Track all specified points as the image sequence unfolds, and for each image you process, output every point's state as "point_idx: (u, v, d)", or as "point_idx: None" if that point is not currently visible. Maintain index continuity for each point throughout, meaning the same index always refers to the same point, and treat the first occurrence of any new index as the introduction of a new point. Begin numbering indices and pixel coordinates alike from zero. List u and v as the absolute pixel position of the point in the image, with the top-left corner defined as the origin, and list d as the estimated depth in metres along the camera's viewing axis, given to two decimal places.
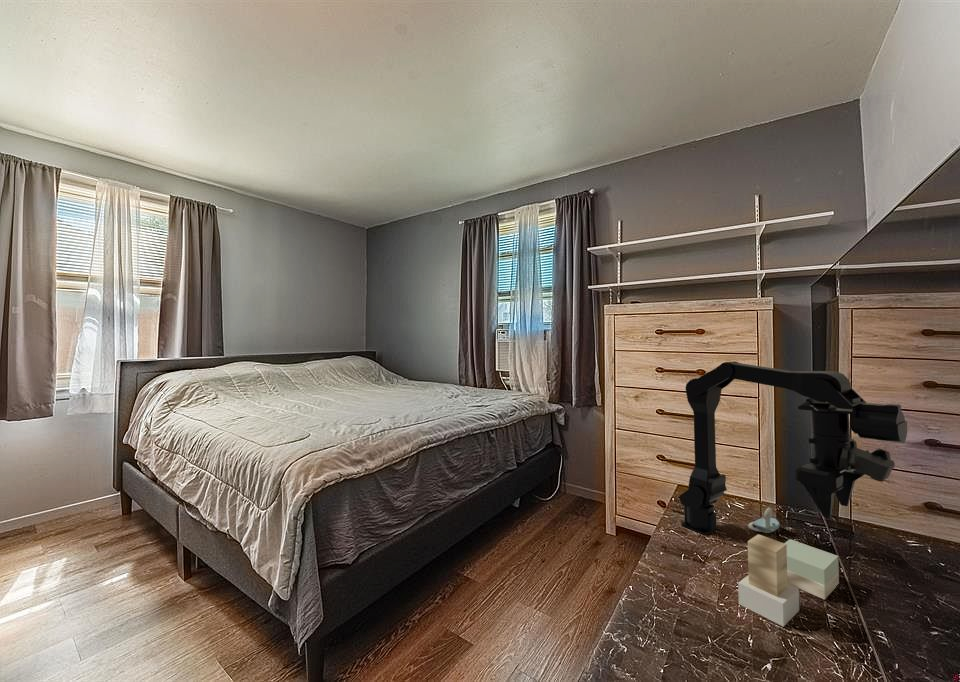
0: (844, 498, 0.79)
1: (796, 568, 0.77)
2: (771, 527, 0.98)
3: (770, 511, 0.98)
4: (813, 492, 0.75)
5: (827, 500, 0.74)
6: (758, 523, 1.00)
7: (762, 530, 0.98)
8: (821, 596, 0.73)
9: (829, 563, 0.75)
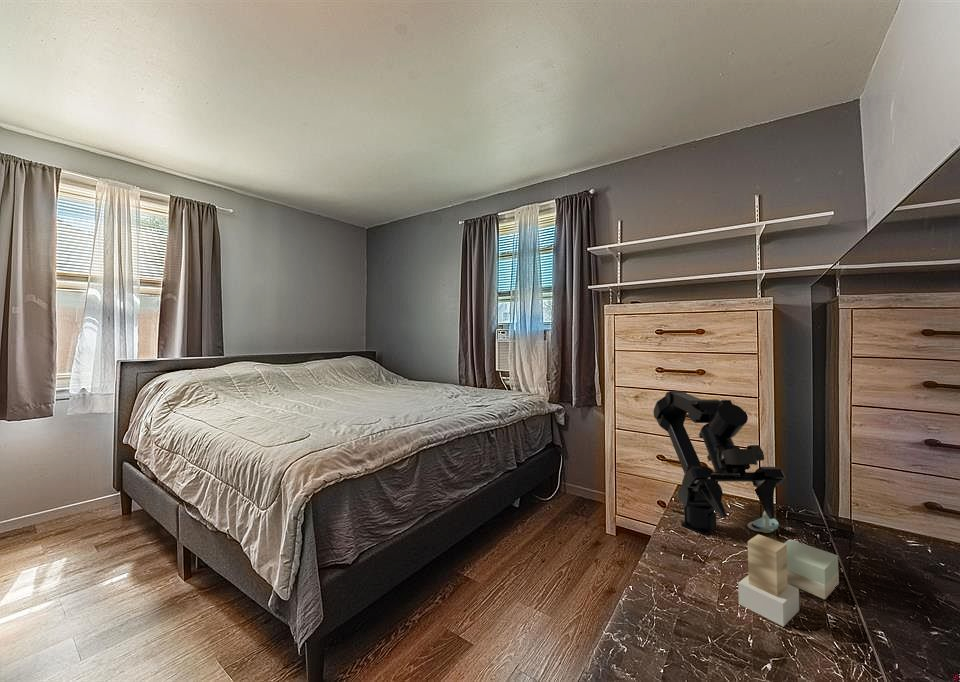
0: (768, 510, 0.79)
1: (797, 568, 0.76)
2: (770, 527, 0.99)
3: None
4: (706, 496, 0.84)
5: (713, 497, 0.82)
6: (757, 523, 1.01)
7: (761, 530, 0.98)
8: (821, 596, 0.73)
9: (829, 563, 0.75)
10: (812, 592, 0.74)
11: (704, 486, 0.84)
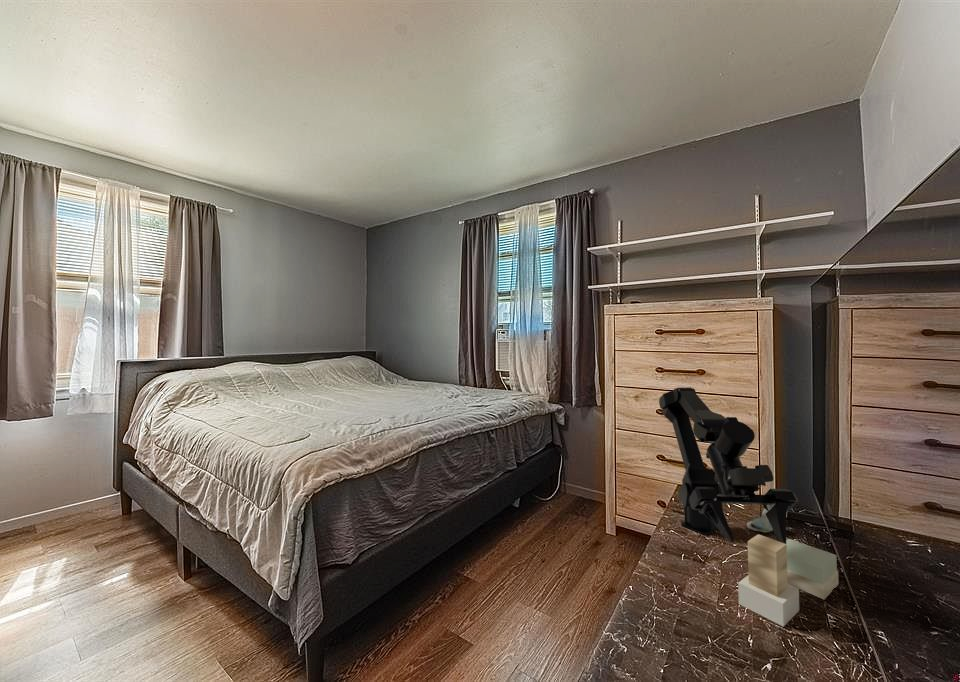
0: (779, 535, 0.74)
1: (795, 567, 0.77)
2: (769, 526, 0.99)
3: None
4: (713, 519, 0.79)
5: (719, 520, 0.77)
6: (756, 522, 1.01)
7: (760, 529, 0.98)
8: (820, 595, 0.73)
9: (827, 562, 0.75)
10: (811, 592, 0.74)
11: (710, 508, 0.79)
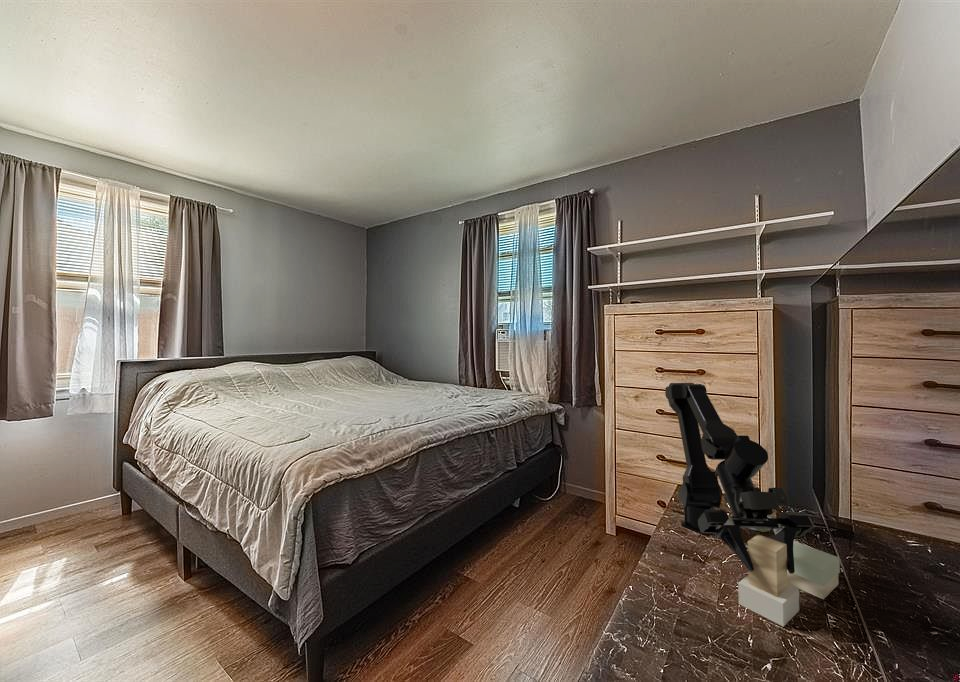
0: (787, 563, 0.70)
1: (795, 568, 0.77)
2: None
3: None
4: (730, 544, 0.75)
5: (737, 547, 0.73)
6: None
7: (758, 529, 0.98)
8: (820, 596, 0.73)
9: (828, 564, 0.75)
10: (811, 592, 0.74)
11: (727, 533, 0.75)
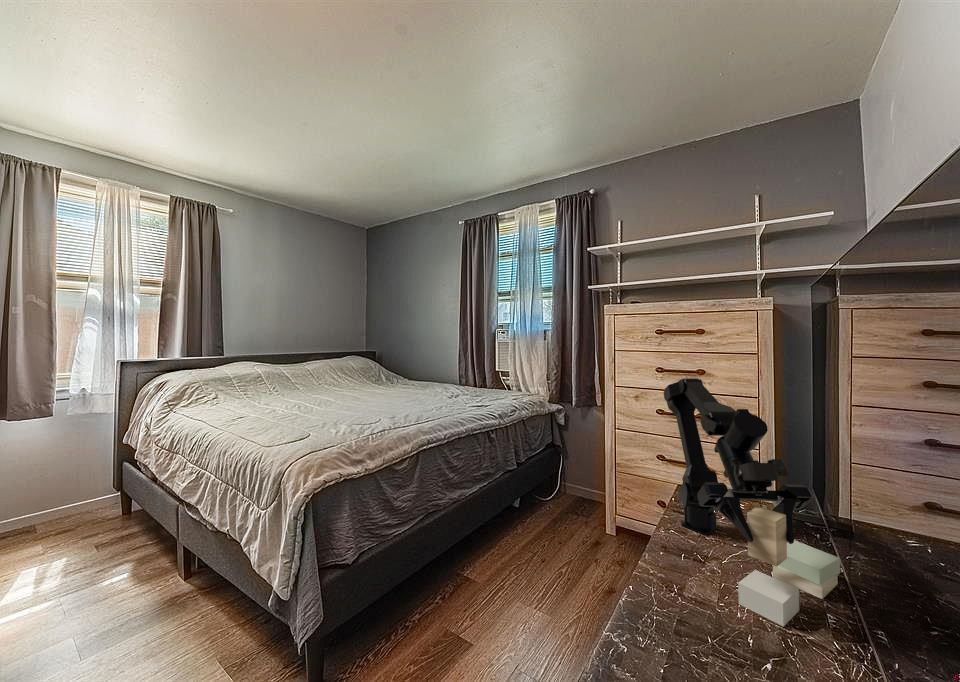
0: (786, 533, 0.70)
1: (793, 567, 0.77)
2: None
3: None
4: (730, 517, 0.75)
5: (737, 518, 0.73)
6: None
7: None
8: (819, 595, 0.73)
9: (827, 564, 0.75)
10: (810, 592, 0.75)
11: (727, 505, 0.75)
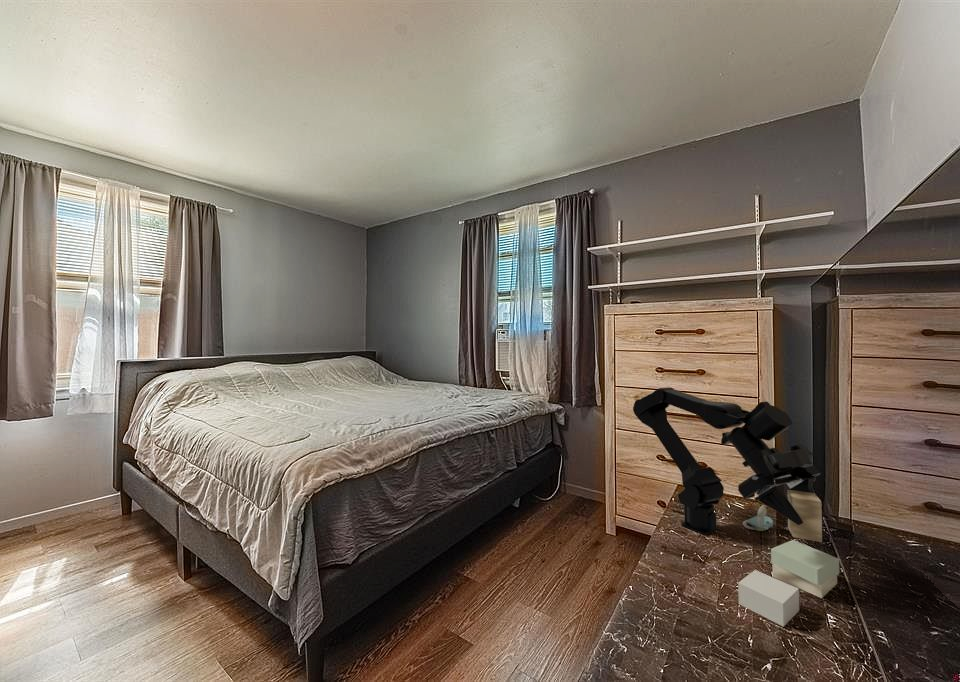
0: None
1: (791, 567, 0.77)
2: (765, 525, 1.00)
3: (764, 509, 0.99)
4: (772, 504, 0.79)
5: (784, 505, 0.77)
6: (752, 521, 1.01)
7: (756, 528, 0.99)
8: (818, 595, 0.74)
9: (826, 564, 0.75)
10: (809, 591, 0.75)
11: (769, 494, 0.79)
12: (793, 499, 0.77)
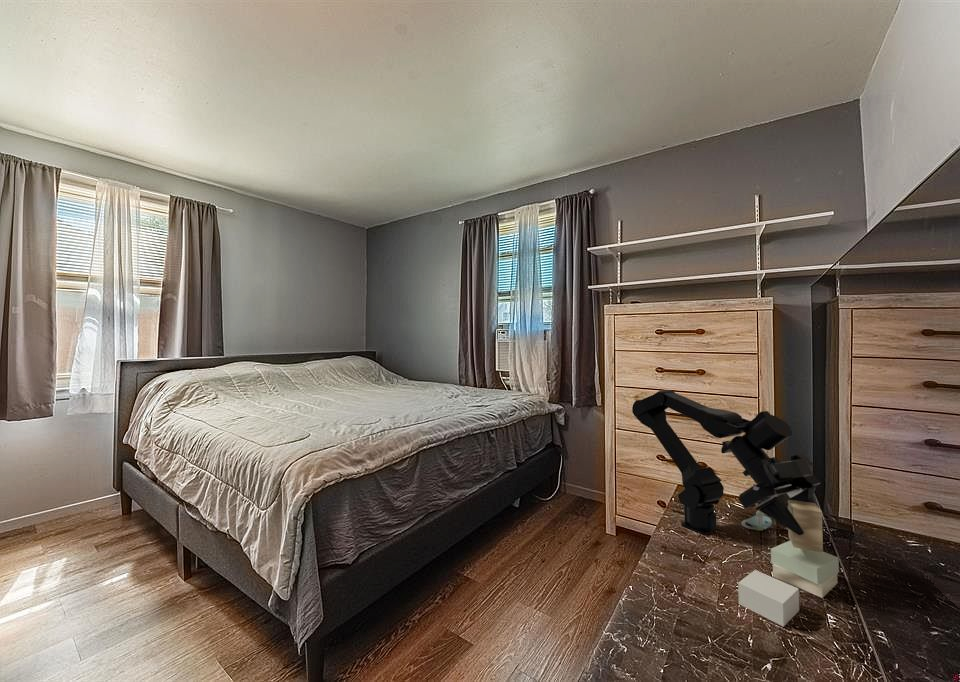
0: None
1: (791, 566, 0.77)
2: (763, 525, 1.00)
3: None
4: (773, 514, 0.79)
5: (785, 515, 0.78)
6: (751, 521, 1.02)
7: (755, 528, 0.99)
8: (819, 595, 0.74)
9: (825, 563, 0.75)
10: (810, 591, 0.75)
11: (770, 504, 0.80)
12: (794, 509, 0.77)
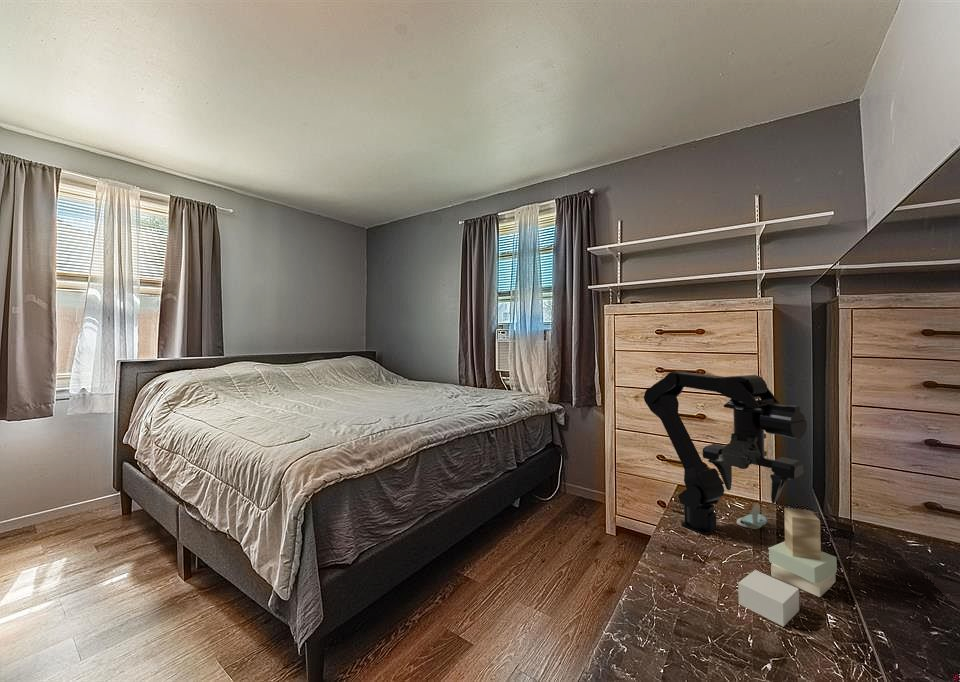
0: None
1: (789, 565, 0.78)
2: (758, 523, 1.01)
3: (757, 507, 1.00)
4: None
5: None
6: (746, 519, 1.03)
7: (749, 526, 1.00)
8: (816, 594, 0.74)
9: (823, 562, 0.75)
10: (807, 590, 0.75)
11: None
12: (793, 518, 0.78)
